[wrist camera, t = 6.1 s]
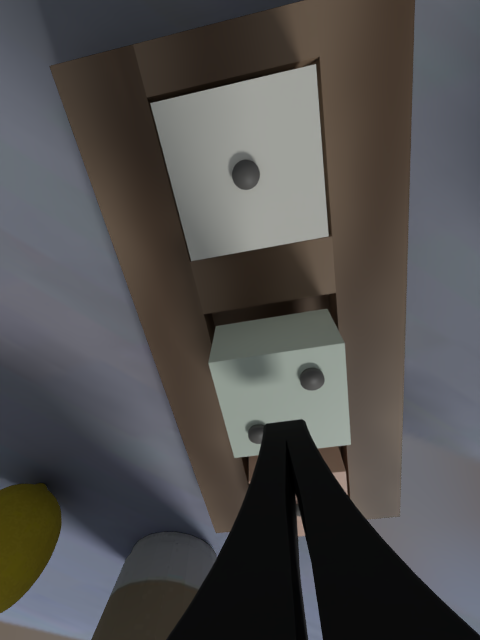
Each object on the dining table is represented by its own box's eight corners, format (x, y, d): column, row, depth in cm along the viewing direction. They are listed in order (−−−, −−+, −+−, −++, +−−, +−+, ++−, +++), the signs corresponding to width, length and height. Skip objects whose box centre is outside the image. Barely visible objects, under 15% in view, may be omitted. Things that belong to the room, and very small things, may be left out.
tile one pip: (301, 84, 12) (317, 62, 9) (313, 221, 14) (330, 237, 12) (171, 114, 13) (148, 102, 10) (201, 242, 15) (190, 262, 12)
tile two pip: (327, 308, 15) (346, 345, 12) (334, 398, 17) (352, 448, 14) (215, 326, 15) (207, 366, 12) (236, 410, 17) (234, 461, 14)
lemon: (-13, 464, 23) (-132, 603, 16) (59, 451, 22) (-32, 591, 15) (28, 514, 25) (-60, 655, 18) (94, 504, 25) (30, 647, 17)
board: (390, -1, 12) (415, -29, 10) (388, 488, 23) (399, 516, 21) (76, 78, 13) (49, 66, 11) (218, 505, 24) (215, 532, 22)
